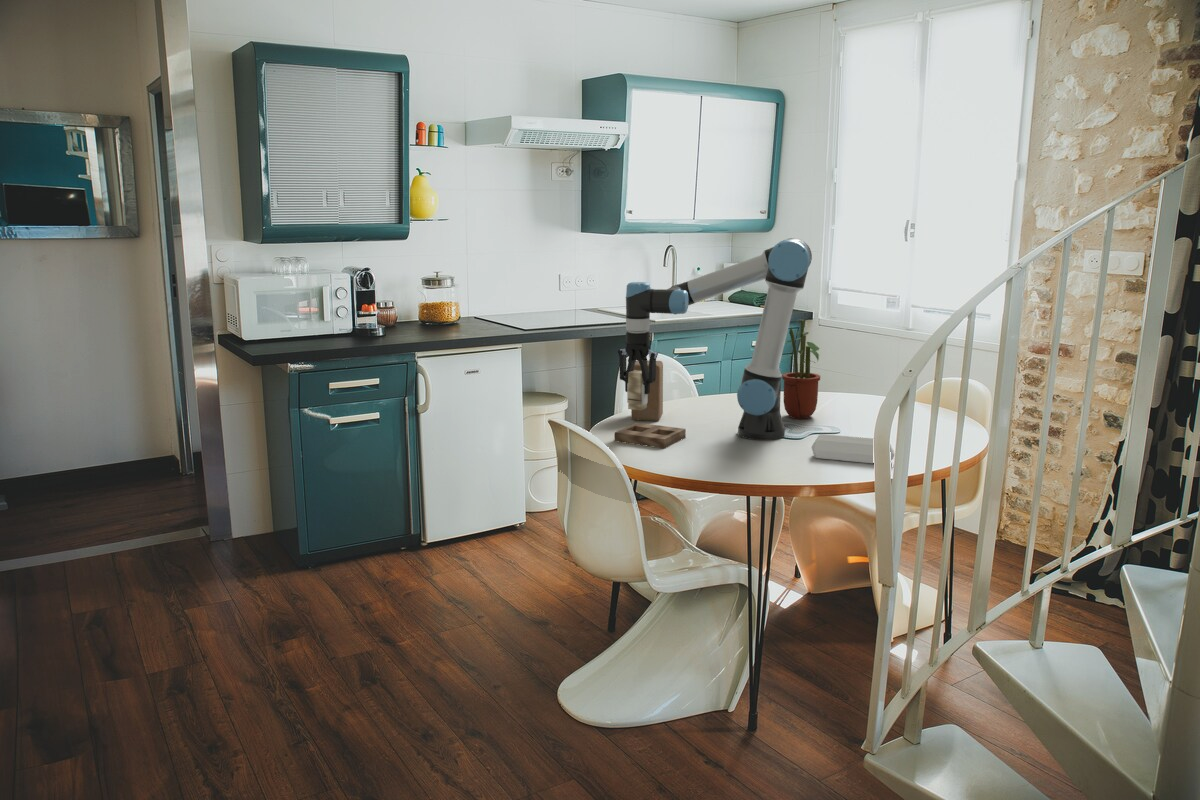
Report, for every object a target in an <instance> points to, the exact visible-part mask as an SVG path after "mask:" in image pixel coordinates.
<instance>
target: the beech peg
mask: <svg viewBox="0 0 1200 800" xmlns="http://www.w3.org/2000/svg"><path fill="white" fill-rule="evenodd" d="M643 383H644V381H643V376H642V371H638V370H634V371H631V372H628V405H627V406H628V410H631V409H633V410H643V409H645V408H647V404H644V405H642V404H641V403H642V384H643Z"/></svg>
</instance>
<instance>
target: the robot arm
mask: <svg viewBox="0 0 1200 800" xmlns="http://www.w3.org/2000/svg"><path fill="white" fill-rule="evenodd" d="M812 255H813V254H812V251H811V248H810V246H809V245H808V244H807V243H806V242H805V241H804V240H803V239H799V238H796V237H793V238H792V237H791V238H787V239H784V240H781V241H779V242H778V243H776V244H774V246H772V247H770V248H767V249H764V250H763V252H762V254H760V255H758V256H754V257H752V258H749V259H746V260H744V261H743V260H742V261H740V262H737V263H735V264H732V265H730V266H726V267H723V268H720V269H718V270H715V271H712V272H709V273H707V274H704V275H701V276H698V277H696V278H693V279H690V280H688V281H684V282H682V283H679V284H675V285H672V286H670V287H669V288H667V289H659V288H658V289H656V288H652V287H651V284H650V282H646V281H633V282H629V283H628V284H627V285H626V291H625V314H626V315H625V330H626V332H625V343H626V345H625V347H624V348H621V349H618V350H617V354H618V357H619V380H620V381H623V382H624V389H625V390H624V391H625V392H626V393H627V395H626V396H627V397H626V398H627V399H626V400H627V403H628V372H631V371H633V370H634V365H635V362H636V361H637V360H638V361H639V364H640V366H641V371H642V376H643V381H644V383H643V384H642V403H641V404H642V405H644V404H647V403H648V394H649V393H650V383H653V382H655V381H656V361H657V359H658V355H659V353H658V351H653V350H652V349H651V347H650V341H651V339H650V334H651V333H650V332H649V331H650V330H651V329H650V326H651V325H650V321H651V319H650V318H651V316H650V314H669V315H683V314H686V313H687V312H688V309H689V306H691V305H694V304H697V303H699V302H702V301H705V300H708V299H711V298H714V297H717V296H720V295H722V294H726V293H729V292H731V291H734V290H737V289H741V288H743V287H746V286H750V285H752V284H755V283H757V282H760V281H763V280H765V282H766V284H767V286H768V287H767V294H766V298H765V302H764V306H763V310H762V315H761V319H760V323H759V327H758V331H757V336H756V340H755V344H754V349H753V353H752V357H751V362H750V363H748V364H747V365H745V366H744V369H743V374H742V377H741V378H742V379H741V382H740V386H739V387H738V389H737V392H736V397H737V402H738V406H739V407H740V408H741V409H742V410H743V413H742V415H741V418H740V421H739V425H738V427H737V435H738V436H739V437H742V438H745V439H748V440H754V441H755V440H756V441H772V440H779V439H782V438H784V437H785V436H786V435H785V434H786V433H785V432H786V428H785V424H784V421H783V418H782V415H781V393H782V392H781V389H782V375H783V373H782V369H781V368H780V364H781V361H782V355H783V352H784V347H785V345H786V344H785V343H786V340H787V336H788V333H789V332H788V331H789V329H790V328H789V327H790V322H791V318H792V315H793V310H794V307H795V302H796V299H797V298H796V297H797V294H798V293H799V292H800V291H802V290H803V289H804V287H805V283H806V279H807V276H808V275H807V274H808V271H809V268H810V266H811V263H812V258H813V257H812ZM627 356H628V357H627ZM648 358H649V359H648ZM627 359H628V360H627ZM647 360H648V361H649V371H648V365H647ZM784 435H785V436H784Z"/></svg>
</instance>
